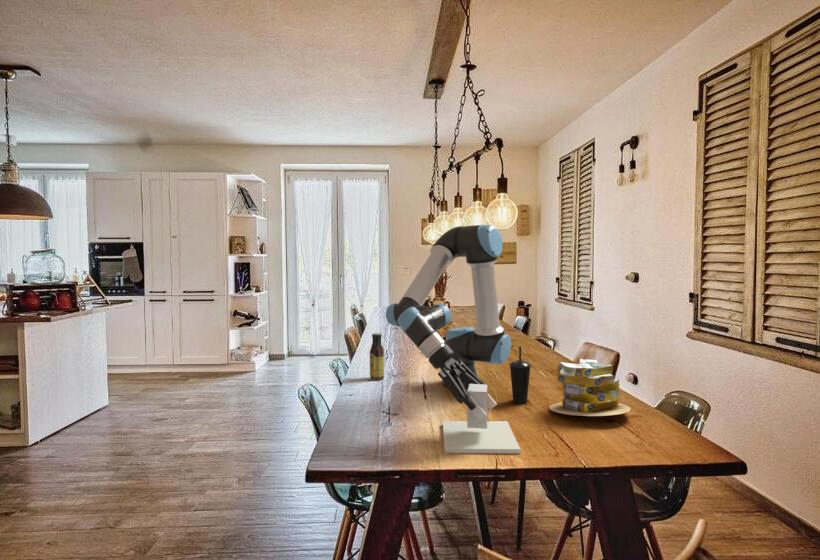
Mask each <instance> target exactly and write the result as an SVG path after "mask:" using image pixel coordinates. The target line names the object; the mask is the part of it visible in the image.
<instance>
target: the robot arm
mask: <svg viewBox="0 0 820 560" xmlns="http://www.w3.org/2000/svg"><path fill="white" fill-rule="evenodd" d="M503 245H504V244H503V238H502V234H501V233H500V231H499V229H498V228H497V227H496V226H495V225H492V224H476V225H474V224H473V225H464V226H463V225H462V226H455V227H452V228H450V229H448V230H447V231H445V232H444V233H443V234H442V235H441V236H440V237H438V239H437V240H436V241H435V242H434V243H433V245H432V247H430V255H429V256H428V257H427V259H426V260H425V262H424V263H423V265H422V266H421V268H420V270H419V271H418V273H417V274H416V276H415V277H414V279H413V280H412V282H411V283H410V285H409V287H408V288H407V290H406V291H405V293H404V294H403V296H402V297H401V299H400V300H399V302H398V303H392V304H390V305H388V306H387V307H386V311H385V318H386V321H387V323H388V324H390V325H392V326H395V327H399V328H400V329H401V330H402V332H403V333H404V334H405V335H406V336H407V337H408V338H409V339H410V340H411V342H412V343H413V344H414V345H415V346H416V348H418V350H419V351H420V354H421V355H423V356H424V357H425V358H426V359H428V362H429V363H430V365H431V366H432V367H433V368H434V369H435V370H438V369H440V370H439V372H437V375H438V377H440V378H441V384H442V386H444V387H447V388H448V390H449V392H451V394H452V395H453V398H454V399H455V400H456V402H458V403H459V404H463V403H464V405H465V406H466V408H467V407H468V408H469V409H470V410H471V412H472V413H473V414H474V415H475V416H476V418H477V419H478V420H479V421H480V420H481V419H482V418H483V417H485V416H486V415H487V414H486V413H485V411H484V410H483V409H482V408H481V407H480V406H479V404H478V403H477V402H476V401H475V400H474V398H473V397H472V396H470V397H469V395H468V393H467V391H468V387H469V384H485V382H484V381H483V380H482V379H481V378H480V377H479V376H478V372H477V369H476V362H480V363H485V364H491V365H503V364H504V363H506V361H507V360H508V358H509V356H510V354H511V350H512V338H511V337H510V335H509V334H507V333H506V334H505V328H504V327H503V326H502V325H501V324H500V316H499V315H500V314H499V305H498V294H497V293H498V291H497V282H496V272H495V264H496V263H497V261H498V260H499V259H498V257H499V256H500V255H502V252H503ZM461 257H462V258H465V262H466V264H467V265H468V266H470V270H471V271H470V272H471V277H472V278H471V280H472V289H473V297H474V309H475V318H476V325H477V326H476V327H472V326H465V327H456V328H451V329H448V330H447V331H446V334H445V340H444V338H443V337H442V336H441V334H439V333H438V330H440V329H442V328H443V329H444V327H446V326H447V325H449V323H451V320H452V312H451V309H450V308H449V306H447V305H446V304H444V303H437V304H433V305H432V306H431V305H424V304H425V303H426V301H427V299H428V297H429V296H430V294H431V292H432V291H433V289H434V287H435V286H436V284H437V283H438V282H439V279H441V276H442V274H443V273H444V271H445V269H446V268H447V266H448V265H450V264H452V263H453V262H454V260H455V259H457V258H461ZM466 389H467V390H466ZM497 405H498V402H496V401H495V400H494V399H493V397H492V396H491V395H490V394H489V393H488V409H489V410H488V411H491V410H493V408H494V407H496V406H497Z"/></svg>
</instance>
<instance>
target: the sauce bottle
mask: <svg viewBox="0 0 820 560" xmlns="http://www.w3.org/2000/svg"><path fill="white" fill-rule="evenodd" d="M371 337H372V343H371V347H370V350H369V376H370V380H372V381H382V380H384V378H385V349H384V346H383V345H382V333H380V332H373V333H372V334H371Z"/></svg>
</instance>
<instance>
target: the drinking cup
mask: <svg viewBox="0 0 820 560" xmlns="http://www.w3.org/2000/svg"><path fill="white" fill-rule="evenodd" d="M518 354H519V355H518V357H519V359H518V360H514V361H511V362H509V364H508V365H509V369H510V370H509V371H510V378H511V381H510V382H511V391H512V392H511V393H512V402H513V403H514V404H518V405H519V404H520V405H524V404H527V403H528V395H529V387H530V386H529V385H530V376H531V375H530V374H531V373H530V372H531V367H532V363H530V362H528V361H525V360H522V346H519V347H518Z"/></svg>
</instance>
